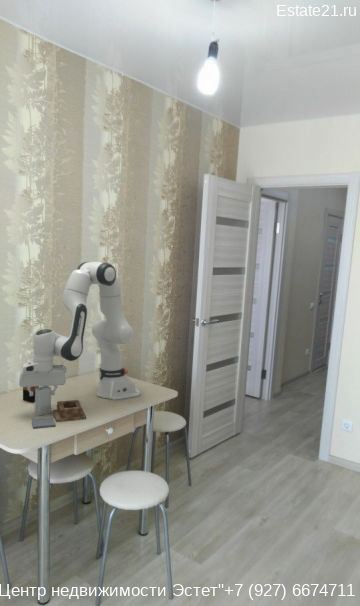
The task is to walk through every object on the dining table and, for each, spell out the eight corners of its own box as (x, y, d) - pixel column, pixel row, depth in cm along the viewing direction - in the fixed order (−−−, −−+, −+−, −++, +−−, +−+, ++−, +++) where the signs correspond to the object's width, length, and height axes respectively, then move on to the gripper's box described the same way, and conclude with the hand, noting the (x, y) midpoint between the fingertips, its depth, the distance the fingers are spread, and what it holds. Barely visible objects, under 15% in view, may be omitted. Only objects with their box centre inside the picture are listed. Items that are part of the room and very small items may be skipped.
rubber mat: (52, 418, 200) (53, 417, 200) (55, 426, 192) (55, 424, 192) (31, 420, 196) (31, 419, 196) (33, 428, 188) (33, 426, 188)
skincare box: (45, 410, 210) (46, 385, 209) (51, 412, 207) (51, 387, 206) (34, 413, 206) (34, 387, 204) (39, 416, 203) (40, 389, 201)
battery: (32, 403, 219) (32, 383, 218) (22, 400, 222) (22, 380, 221) (39, 400, 223) (39, 381, 222) (28, 398, 226) (29, 378, 225)
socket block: (81, 409, 213) (81, 399, 213) (86, 419, 202) (86, 408, 201) (52, 411, 209) (53, 401, 208) (56, 422, 197) (56, 410, 196)
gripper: (65, 363, 211) (64, 391, 212) (19, 364, 203) (18, 394, 204) (67, 366, 205) (66, 395, 206) (19, 367, 197) (19, 398, 198)
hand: (42, 395), depth 205 cm, fingers open, 8 cm apart
